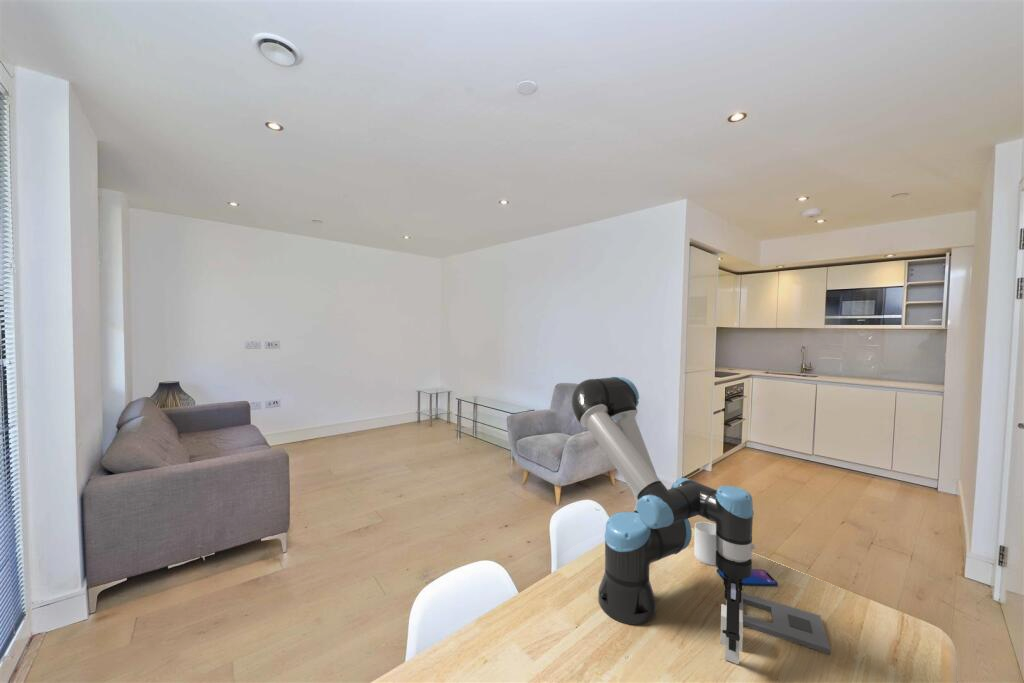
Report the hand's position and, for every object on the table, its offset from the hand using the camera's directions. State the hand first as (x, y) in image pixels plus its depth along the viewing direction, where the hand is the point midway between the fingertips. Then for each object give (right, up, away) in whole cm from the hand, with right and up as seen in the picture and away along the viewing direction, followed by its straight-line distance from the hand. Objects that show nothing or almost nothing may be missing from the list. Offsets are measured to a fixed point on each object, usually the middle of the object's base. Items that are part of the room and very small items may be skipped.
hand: (731, 640), depth 93 cm
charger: (0, 0, 0) cm, 0 cm away
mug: (+13, +1, +33) cm, 35 cm away
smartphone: (+18, 0, +23) cm, 29 cm away
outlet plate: (+15, 0, +6) cm, 16 cm away
